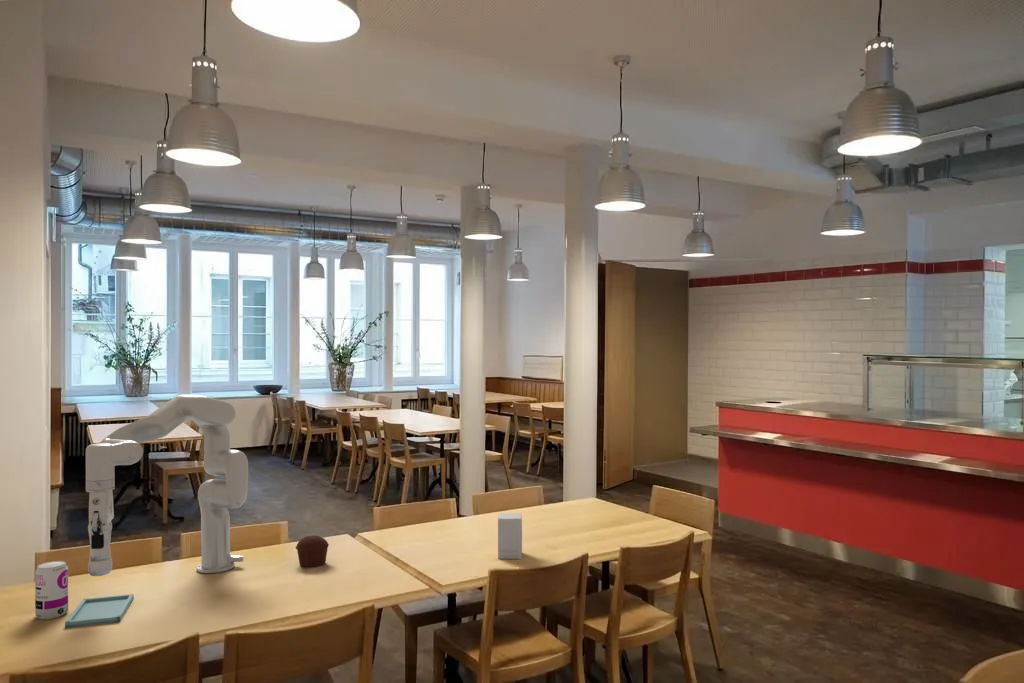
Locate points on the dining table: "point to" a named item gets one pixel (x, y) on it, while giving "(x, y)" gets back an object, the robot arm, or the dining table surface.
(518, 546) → the supplement box
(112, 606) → the tray
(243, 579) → the dining table surface
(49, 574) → the supplement can
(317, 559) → the muffin
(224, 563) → the robot arm
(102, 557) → the plastic bottle
